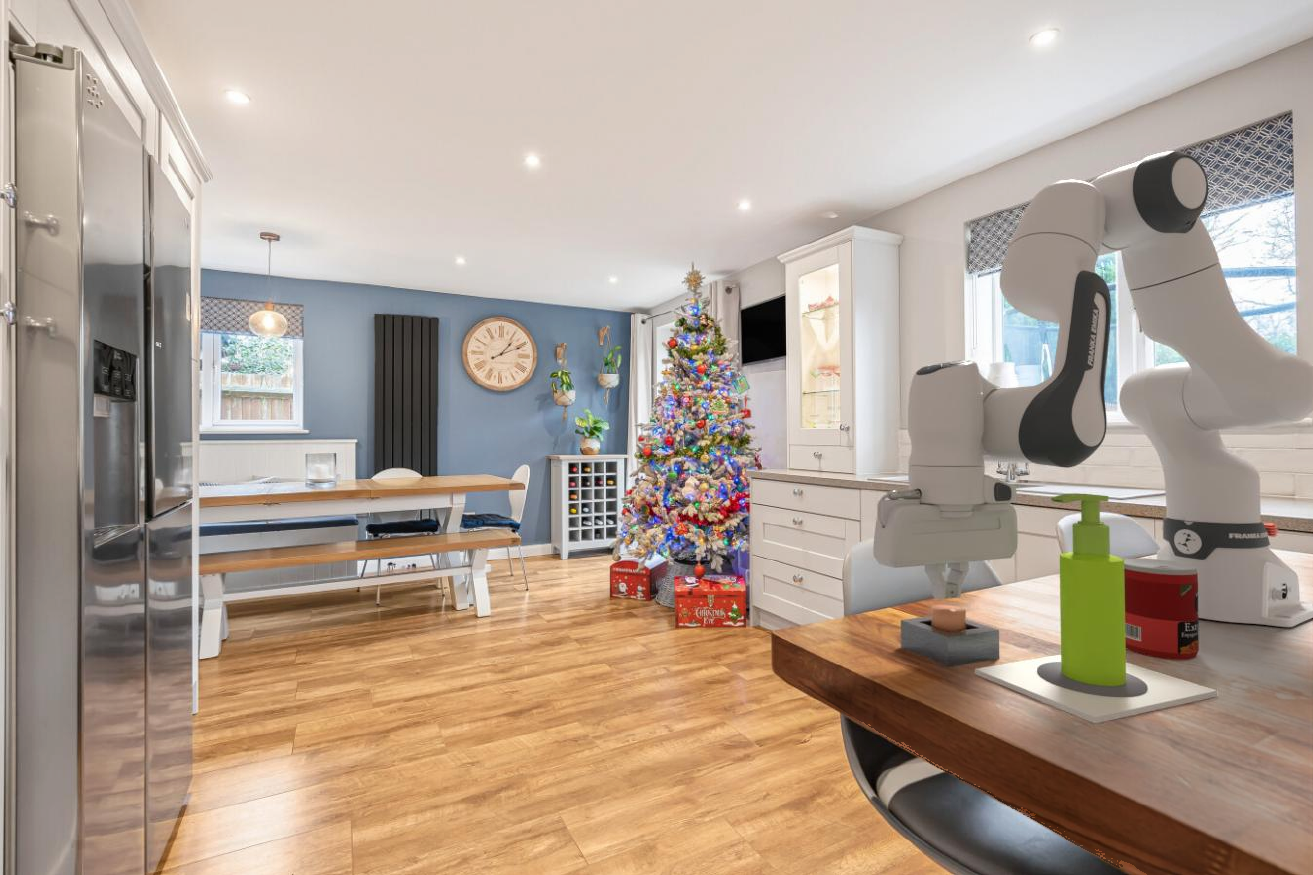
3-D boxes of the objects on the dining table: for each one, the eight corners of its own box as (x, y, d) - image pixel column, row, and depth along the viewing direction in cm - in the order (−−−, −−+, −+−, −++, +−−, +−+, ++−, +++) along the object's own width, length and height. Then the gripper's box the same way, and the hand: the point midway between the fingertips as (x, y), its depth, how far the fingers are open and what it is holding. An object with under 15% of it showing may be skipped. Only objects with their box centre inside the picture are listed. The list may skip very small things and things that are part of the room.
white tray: (1086, 654, 80) (1086, 648, 80) (1217, 696, 67) (1217, 688, 67) (975, 674, 74) (975, 667, 74) (1094, 723, 61) (1094, 715, 61)
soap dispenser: (1040, 668, 73) (1037, 492, 73) (1097, 666, 74) (1095, 491, 74) (1078, 687, 67) (1075, 496, 68) (1140, 685, 68) (1137, 495, 68)
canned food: (1197, 665, 76) (1196, 572, 76) (1115, 651, 82) (1113, 564, 82) (1201, 649, 82) (1199, 562, 82) (1123, 637, 87) (1122, 555, 87)
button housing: (949, 639, 87) (948, 613, 87) (999, 658, 79) (998, 629, 79) (901, 646, 84) (900, 619, 84) (948, 666, 76) (947, 637, 76)
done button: (948, 626, 84) (948, 603, 84) (973, 635, 80) (973, 611, 80) (924, 630, 83) (923, 606, 83) (948, 638, 79) (947, 614, 79)
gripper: (896, 492, 75) (897, 611, 75) (1026, 487, 82) (1027, 596, 82) (861, 489, 81) (862, 599, 81) (986, 485, 88) (987, 586, 88)
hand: (946, 597), depth 82 cm, fingers closed
